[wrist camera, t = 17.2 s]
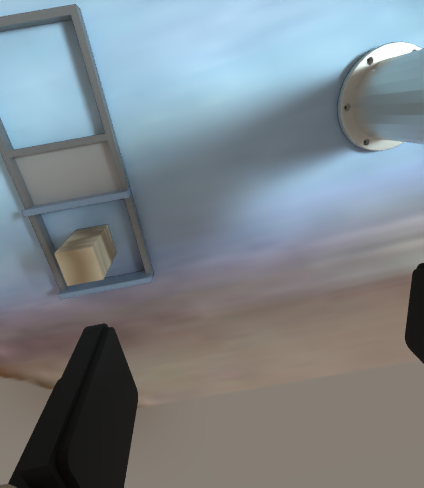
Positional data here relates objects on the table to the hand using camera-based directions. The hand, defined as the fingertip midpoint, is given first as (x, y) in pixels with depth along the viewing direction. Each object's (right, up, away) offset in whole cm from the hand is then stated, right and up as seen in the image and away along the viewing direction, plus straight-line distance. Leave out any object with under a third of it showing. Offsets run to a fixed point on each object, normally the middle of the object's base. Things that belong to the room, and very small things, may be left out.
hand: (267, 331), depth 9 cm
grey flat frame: (-20, +12, +30) cm, 38 cm away
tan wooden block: (-18, +3, +34) cm, 39 cm away
